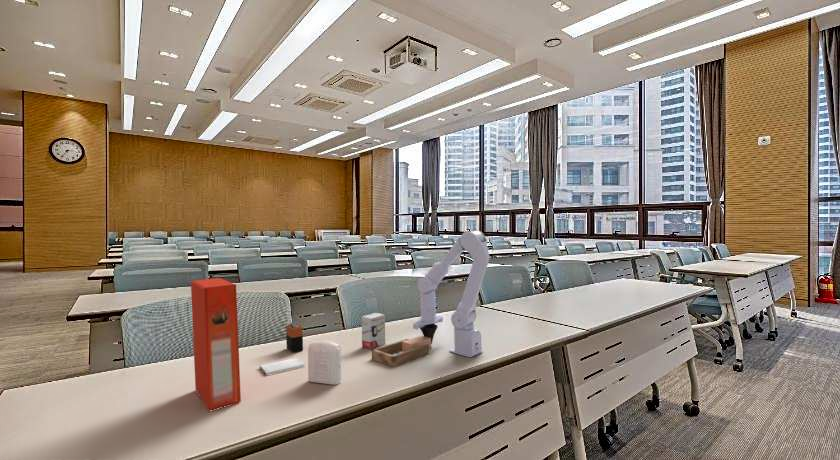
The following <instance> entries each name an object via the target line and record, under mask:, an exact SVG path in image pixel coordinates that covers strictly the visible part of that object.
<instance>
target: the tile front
mask: <svg viewBox="0 0 840 460" xmlns="http://www.w3.org/2000/svg"><path fill="white" fill-rule="evenodd" d="M408 339H409V338H408ZM420 346H422V344H421V341H419V340H415V339H412V338H410V339H409V340H406V341H403V342H402V350H401V353H402V352H405V351H408V350H411V349H414V348H417V347H420Z"/></svg>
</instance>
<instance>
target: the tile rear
mask: <svg viewBox="0 0 840 460" xmlns="http://www.w3.org/2000/svg"><path fill="white" fill-rule="evenodd" d="M411 339H415V340H419V341H421V344H422V346H423V345H426V344H428V345H429V350H431V349H432V344H431V338H429V337H425V336H424V335H419V336H416V337H415V336H414V337H413V338H411Z"/></svg>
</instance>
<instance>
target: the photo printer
mask: <svg viewBox="0 0 840 460" xmlns="http://www.w3.org/2000/svg"><path fill="white" fill-rule="evenodd" d="M307 359H308V360H307V364H308V365H307V367H308V368H307V370H308V371H307V372H308V373H307V374H308V375H307V376H308V377H307V379H308V382H312V383H317V384H325V385H333V386H334V385H335V386H337V385H339V384H340V383H342V382H341V381H342V348H341V345H340V344H338V343H337V342H334V341H330V340H316V341H312V342H310V343H309V345H308V347H307Z"/></svg>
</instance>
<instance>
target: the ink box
mask: <svg viewBox="0 0 840 460" xmlns="http://www.w3.org/2000/svg"><path fill="white" fill-rule="evenodd" d="M385 315H386V314H384V313H383V314H382V313H379V312H373V313H370V314H366V315H363V316H361V347H362V348H365V349H369V350H373V349H376V348H379V347H382V346H384V345H386V316H385Z"/></svg>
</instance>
